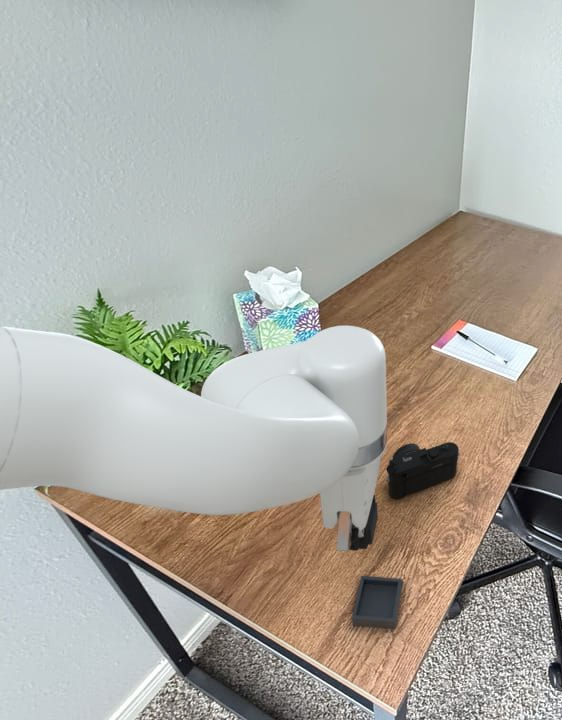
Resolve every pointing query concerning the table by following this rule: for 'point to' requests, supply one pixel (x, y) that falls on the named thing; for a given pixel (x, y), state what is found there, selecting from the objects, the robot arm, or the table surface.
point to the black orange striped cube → (372, 522)
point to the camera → (420, 468)
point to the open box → (377, 602)
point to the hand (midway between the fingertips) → (359, 528)
